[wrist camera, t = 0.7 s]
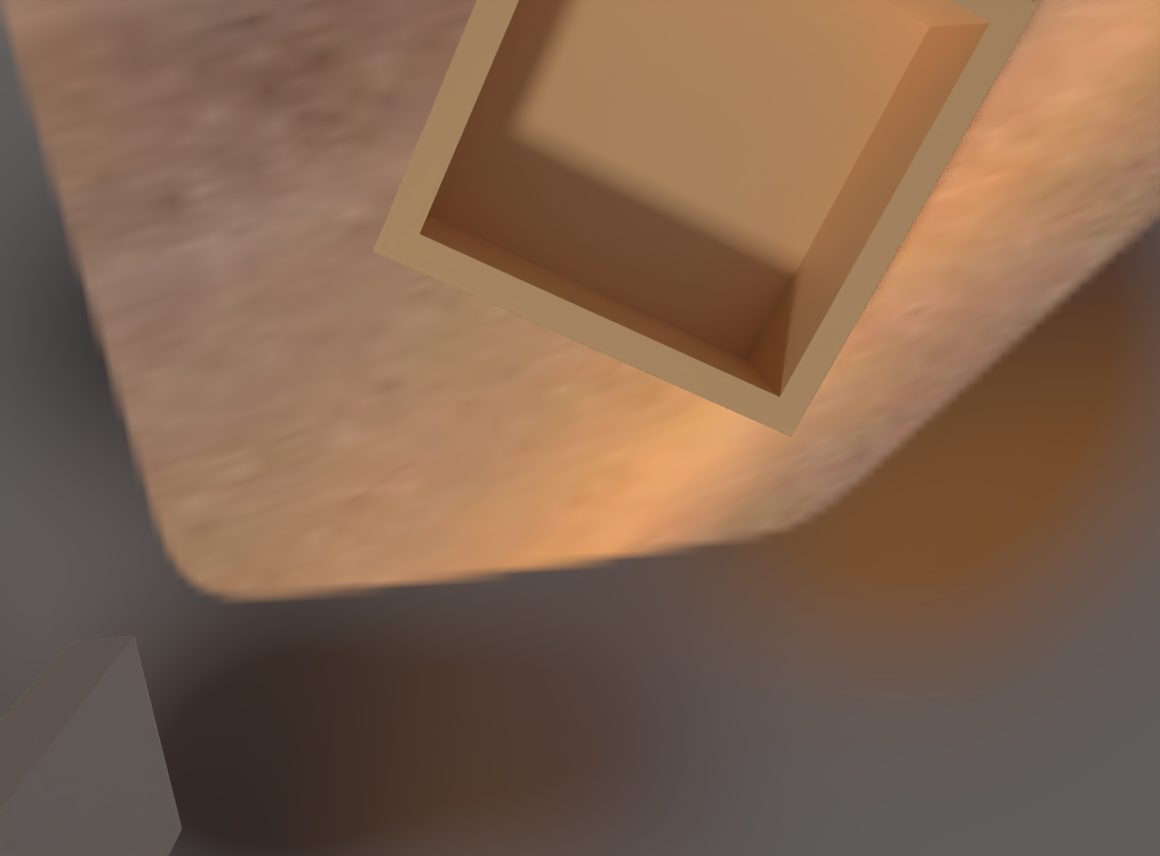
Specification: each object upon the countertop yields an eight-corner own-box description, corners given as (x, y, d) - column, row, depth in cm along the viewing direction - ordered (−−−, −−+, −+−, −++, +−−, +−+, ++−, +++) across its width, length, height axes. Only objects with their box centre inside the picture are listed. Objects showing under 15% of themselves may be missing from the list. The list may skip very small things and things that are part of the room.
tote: (569, -215, 29) (586, -267, 25) (957, 12, 32) (1038, 4, 28) (387, 223, 33) (372, 251, 28) (751, 388, 36) (791, 436, 32)
